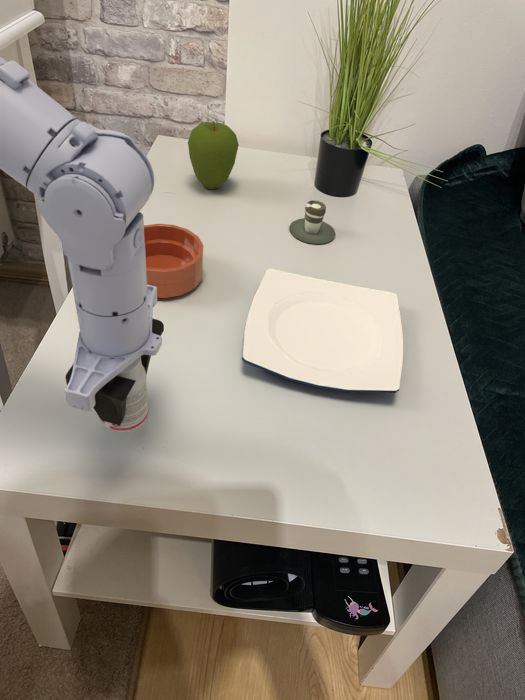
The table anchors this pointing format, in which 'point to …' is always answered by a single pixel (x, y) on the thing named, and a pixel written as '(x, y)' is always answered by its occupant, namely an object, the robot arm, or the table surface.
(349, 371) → the plate
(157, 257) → the bowl
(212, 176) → the apple
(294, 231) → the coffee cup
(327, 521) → the table surface
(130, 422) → the pill bottle
